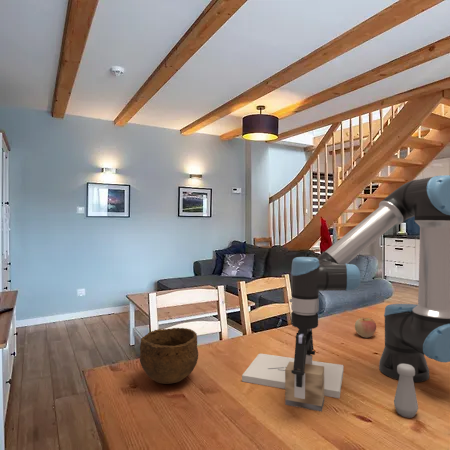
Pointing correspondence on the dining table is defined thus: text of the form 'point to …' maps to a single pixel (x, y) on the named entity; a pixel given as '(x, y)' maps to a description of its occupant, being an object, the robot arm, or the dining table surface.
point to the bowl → (169, 354)
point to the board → (275, 373)
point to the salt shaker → (406, 392)
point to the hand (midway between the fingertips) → (303, 386)
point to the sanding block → (306, 387)
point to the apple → (365, 327)
